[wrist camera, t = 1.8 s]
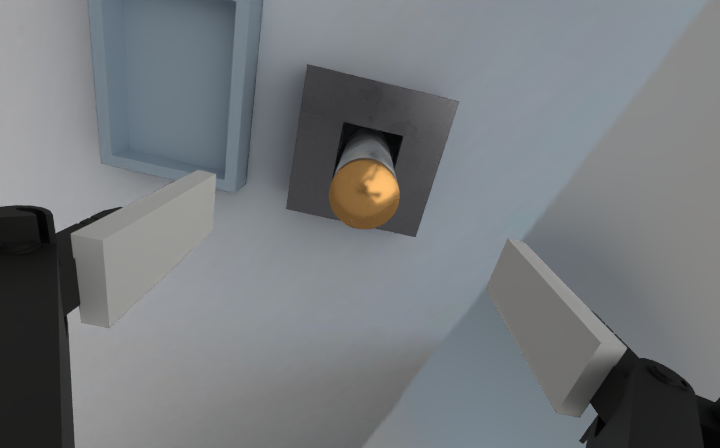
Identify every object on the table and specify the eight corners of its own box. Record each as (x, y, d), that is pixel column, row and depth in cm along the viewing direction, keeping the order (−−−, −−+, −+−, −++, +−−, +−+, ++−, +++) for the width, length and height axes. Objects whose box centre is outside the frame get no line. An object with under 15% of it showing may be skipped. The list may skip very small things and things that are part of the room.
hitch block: (315, 66, 29) (307, 64, 26) (448, 98, 30) (459, 101, 26) (295, 194, 34) (286, 208, 30) (410, 220, 35) (415, 237, 31)
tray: (112, -41, 27) (83, -54, 24) (263, -2, 27) (251, -11, 25) (123, 156, 33) (101, 163, 30) (246, 183, 34) (234, 192, 31)
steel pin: (350, 123, 31) (336, 154, 18) (393, 133, 31) (408, 171, 18) (342, 165, 33) (323, 221, 20) (382, 174, 33) (389, 235, 20)
